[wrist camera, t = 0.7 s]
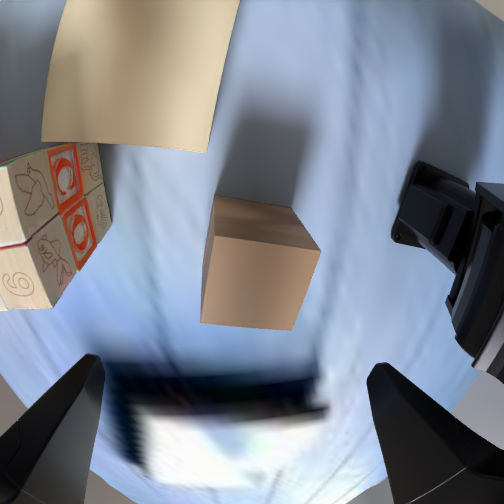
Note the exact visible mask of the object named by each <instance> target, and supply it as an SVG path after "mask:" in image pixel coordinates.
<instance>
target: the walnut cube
mask: <svg viewBox="0 0 504 504" xmlns="http://www.w3.org/2000/svg"><path fill="white" fill-rule="evenodd" d="M320 253H321V250H320V249H319V247H318V246H317V244H316V243H315V241H314V240H313V238H312V237H311V236H310V234H309V233H308V231H307V230H306V228H305V227H304V225H303V224H302V223H301V221H300V220H299V218H298V217H297V215H296V214H295V213H294V211H293V210H292V208H288V207H282V206H277V205H271V204H265V203H260V202H254V201H248V200H242V199H236V198H230V197H223V196H217V195H214V200H213V205H212V211H211V217H210V222H209V228H208V234H207V240H206V247H205V253H204V259H203V267H202V290H201V320H200V323H205V324H215V325H225V326H236V327H247V328H260V329H275V330H292V328H293V326H294V323H295V321H296V318H297V316H298V313H299V310H300V308H301V305H302V303H303V300H304V297H305V295H306V292H307V289H308V287H309V284H310V281H311V279H312V276H313V273H314V270H315V267H316V265H317V262H318V259H319V256H320Z"/></svg>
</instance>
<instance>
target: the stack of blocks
mask: <svg viewBox="0 0 504 504" xmlns="http://www.w3.org/2000/svg"><path fill="white" fill-rule="evenodd" d="M111 226H112V222H111V218H110V213H109V208H108V203H107V198H106V193H105V187H104V183H103V173H102V167H101V161H100V155H99V149H98V143H88V142H70V143H66V144H62V145H58V146H55V145H54V146H50V147H47V148H43V149H40V150H37V151H34V152H31V153H28V154H25V155H21V156H18V157H15V158H13V159H10V160H7V161H4V162H2V163H0V311H7V310H9V309H30V310H34V309H53V308H54V306H55V304H56V303H57V301H58V300H59V299H60V297H61V296H62V294H63V292H64V291H65V289H66V287H67V286H68V284H69V283H70V282H71V280H72V279H73V277H74V275H75V274H76V272H79V271H80V270H81V269H82V267H83V266H84V264H85V263H86V262H87V260H88V259H89V257H90V256H91V254H92V253H93V251H94V250H95V249H96V247H97V244H99V242H100V241H101V240H102V238H103V237H104V235H105V234H106V232H107V231H108V230H109V228H110V227H111Z"/></svg>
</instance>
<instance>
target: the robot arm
mask: <svg viewBox="0 0 504 504" xmlns="http://www.w3.org/2000/svg"><path fill="white" fill-rule="evenodd" d="M421 166H422V170H420V169H421ZM475 191H476V192H474V191H472V190H470V189H469V185H468V183H466V182H464V181H462V180H460V179H458V178H456V177H454V176H452V175H450V174H448V173H446V172H444V171H442V170H440V169H438V168H436V167H434V166H432V165H429V164H427V163H425V162H423V161H418V162H417V163H416V165H415V168H414V171H413V174H412V177H411V180H410V184H409V187H408V190H407V193H406V196H405V198H404V201H403V204H402V207H401V210H400V212H399V215H398V218H397V221H396V223H395V226H394V229H393V231H392V234H391V238H392V240H393V241H394V242H396V243H400V244H405V245H410V246H414V247H419V248H423V249H427V250H428V251H429V252H430V253H431V254H433V255H434V256H435V257H436V258H437V259H438V260H440V261H441V262H442V263H443V264H444V265H445V266H446V267H447V268H448V269H450V270H451V271H452V272H453V273H454V274H455V275H456V276H455V279H454V282H453V285H452V288H451V291H450V294H449V295H448V296H447V299H446V302H445V303H446V306H447V308H448V310H449V313H450V315H451V318H452V324H453V327H454V330H455V332H456V335H455V339H456V341H457V342H458V344H459V345H460V346H461V348H462V349H463V350H464V351H465V352H466V353H467V354H469V355H470V356H471V357H473V358H474V361H473V362H472V367H473V368H476V369H479V370H482V371H485V372H487V373H489V374H491V375H492V376H494V377H496V378H497V379H499V380H500V381H501V382H502V383H503V384H504V184H499V183H485V182H476V187H475ZM398 234H399V236H398V237H397V238H396V236H397V235H398ZM104 382H105V371H104V368H103V365H102V361H101V358H100V356H99V355H96V354H90V353H88V354H86V355H84V356H83V357H82V358H81V359H80V360H79V361H78V362H77V363H76V364H75V365H74V366H73V367H71V368H70V369H69V370H68V371H67V372H66V373H65V374H64V375H63V376H62V377H61V378H60V379H59V380H58V381H57V382H56V383H55V384H54V385H53V386H52V387H50V388H49V389H48V390H47V391H46V392H45V393H44V394H43V395H42V396H41V397H40V398H39V399H38V400H37V401H36V402H35V403H34V404H33V405H32V406H31V407H30V408H29V409H28V410H27V411H26V412H25V413H24V414H23V415H22V416H21V417H20V418H19V419H18V421H16V422H15V423H14V424H13V425H12V426H11V427H10V428H9V429H8V430H7V431H6V432H5V433H4V434H3V435H2V436H1V437H0V504H84V499H85V492H86V485H87V479H88V473H89V468H90V462H91V457H92V452H93V447H94V442H95V438H96V433H97V429H98V424H99V419H100V412H101V404H102V396H103V389H104ZM367 389H368V394H369V400H370V405H371V411H372V417H373V421H374V425H375V429H376V432H377V436H378V440H379V443H380V447H381V451H382V455H383V459H384V463H385V467H386V471H387V475H388V479H389V483H390V487H391V492H392V496H393V501H394V504H504V450H502V449H500V448H498V447H496V446H495V445H493V444H492V443H490V442H489V441H487V440H486V439H484V438H482V437H481V436H479V435H478V434H477V433H475V432H474V431H472V430H471V429H470V428H468V427H467V426H466V425H464V424H463V423H462V422H461V421H459V420H458V419H457V418H455V417H454V416H453V415H452V414H451V413H449V412H448V411H447V410H446V409H444V408H443V407H442V406H441V405H439V404H438V403H437V402H436V401H434V400H433V399H432V398H431V397H430V396H428V395H427V394H426V393H425V392H423V391H422V390H421V389H420V388H418V387H417V386H416V385H415V384H413V383H412V382H411V381H410V380H409V379H407V378H406V377H405V376H404V375H402V374H401V373H400V372H399V371H397V370H396V369H395V368H394V367H392V366H391V365H390V364H389V363H386V362H383V363H377V364H376V365H375V366H374V368H373V369H372V371H371V373H370V374H369V376H368V378H367Z"/></svg>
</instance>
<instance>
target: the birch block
mask: <svg viewBox="0 0 504 504" xmlns="http://www.w3.org/2000/svg"><path fill="white" fill-rule="evenodd" d="M239 3H240V0H67V1H66V4H65V7H64V10H63V14H62V17H61V20H60V24H59V28H58V31H57V35H56V39H55V43H54V48H53V52H52V57H51V62H50V67H49V73H48V79H47V85H46V92H45V100H44V109H43V119H42V133H41V142H88V143H109V144H125V145H138V146H149V147H160V148H169V149H178V150H187V151H194V152H202V153H207V148H208V144H209V138H210V132H211V127H212V122H213V116H214V111H215V106H216V101H217V96H218V91H219V87H220V82H221V77H222V73H223V68H224V64H225V59H226V55H227V51H228V46H229V42H230V38H231V34H232V30H233V26H234V22H235V18H236V14H237V11H238V7H239Z"/></svg>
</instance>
